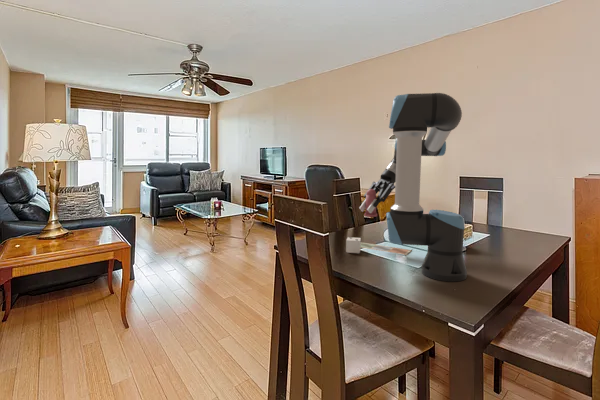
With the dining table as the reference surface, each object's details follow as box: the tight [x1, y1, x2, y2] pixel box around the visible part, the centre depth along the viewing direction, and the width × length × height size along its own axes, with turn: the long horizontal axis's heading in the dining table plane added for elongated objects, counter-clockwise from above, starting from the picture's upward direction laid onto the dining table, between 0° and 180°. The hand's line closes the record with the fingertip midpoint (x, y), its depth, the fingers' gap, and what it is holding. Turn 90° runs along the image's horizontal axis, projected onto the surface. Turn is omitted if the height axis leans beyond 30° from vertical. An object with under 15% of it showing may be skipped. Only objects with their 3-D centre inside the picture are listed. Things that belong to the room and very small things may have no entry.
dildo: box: [364, 188, 378, 218], centre depth 155 cm, size 6×6×13 cm
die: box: [345, 236, 362, 254], centre depth 149 cm, size 6×6×6 cm
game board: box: [361, 241, 413, 257], centre depth 154 cm, size 9×25×1 cm, turn 55°
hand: (365, 210), depth 153 cm, fingers closed on dildo, 5 cm apart
